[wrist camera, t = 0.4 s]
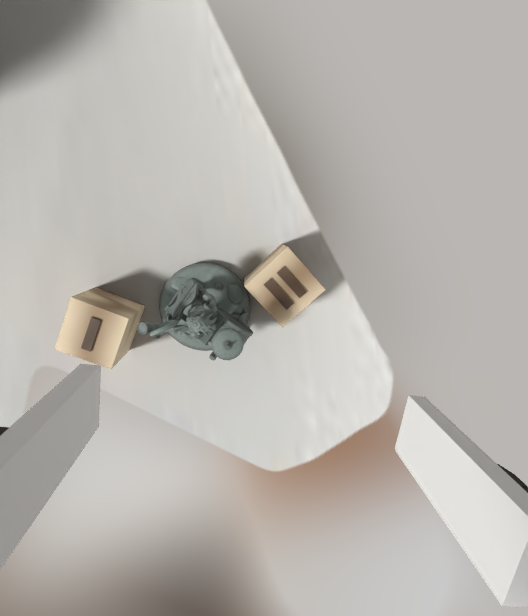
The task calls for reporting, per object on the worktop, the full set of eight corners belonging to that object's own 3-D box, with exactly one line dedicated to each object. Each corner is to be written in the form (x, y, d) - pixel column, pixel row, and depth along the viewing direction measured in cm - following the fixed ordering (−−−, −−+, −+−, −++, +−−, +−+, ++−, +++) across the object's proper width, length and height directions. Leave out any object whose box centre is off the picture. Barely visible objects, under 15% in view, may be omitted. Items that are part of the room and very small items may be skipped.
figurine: (192, 244, 40) (171, 251, 28) (267, 296, 42) (276, 322, 30) (144, 317, 41) (106, 352, 30) (219, 363, 43) (209, 413, 32)
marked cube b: (244, 278, 41) (244, 286, 35) (281, 243, 40) (288, 246, 34) (277, 313, 42) (282, 327, 36) (313, 281, 42) (325, 290, 36)
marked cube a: (81, 332, 41) (53, 350, 35) (96, 287, 40) (70, 297, 34) (129, 349, 42) (110, 369, 36) (145, 305, 41) (128, 319, 35)
